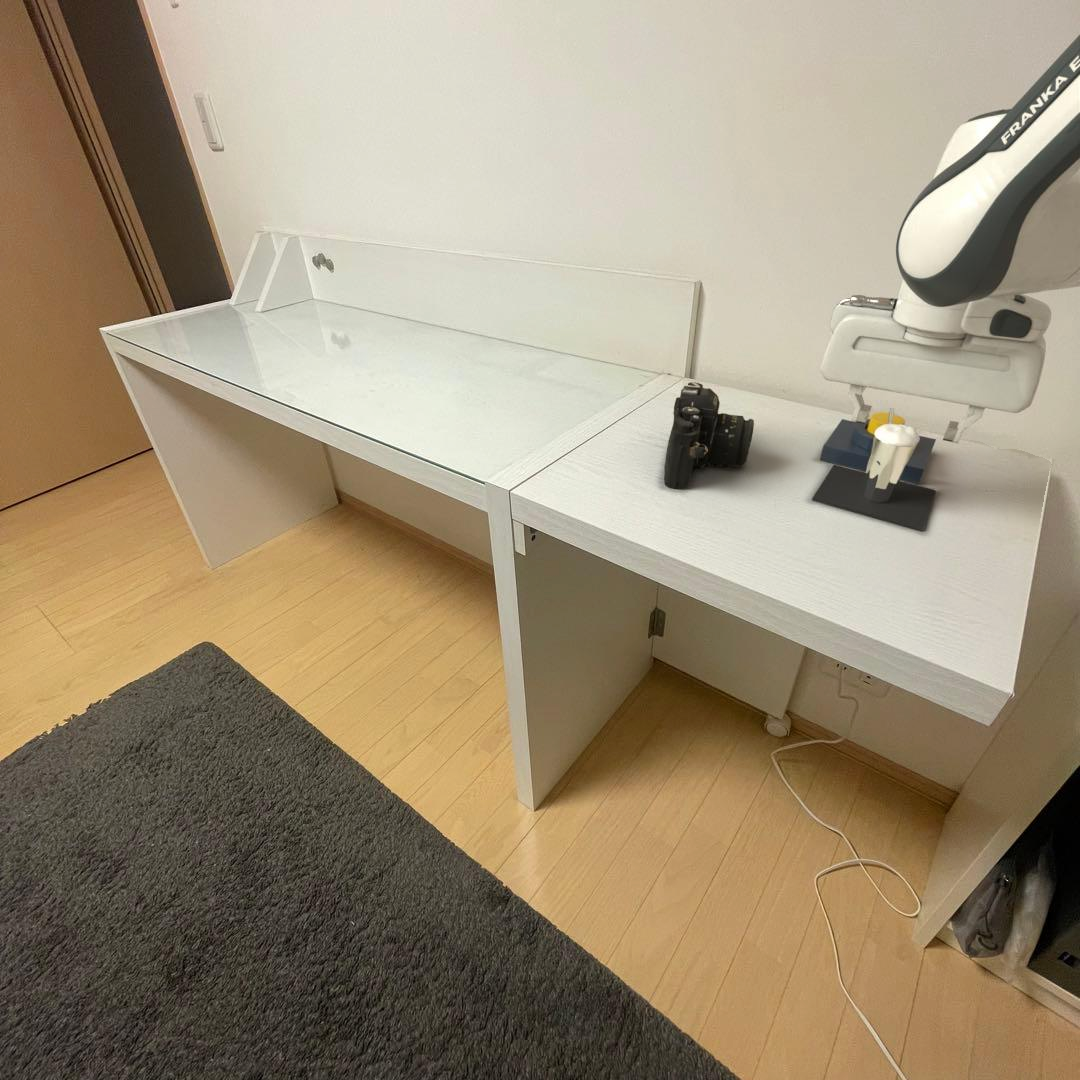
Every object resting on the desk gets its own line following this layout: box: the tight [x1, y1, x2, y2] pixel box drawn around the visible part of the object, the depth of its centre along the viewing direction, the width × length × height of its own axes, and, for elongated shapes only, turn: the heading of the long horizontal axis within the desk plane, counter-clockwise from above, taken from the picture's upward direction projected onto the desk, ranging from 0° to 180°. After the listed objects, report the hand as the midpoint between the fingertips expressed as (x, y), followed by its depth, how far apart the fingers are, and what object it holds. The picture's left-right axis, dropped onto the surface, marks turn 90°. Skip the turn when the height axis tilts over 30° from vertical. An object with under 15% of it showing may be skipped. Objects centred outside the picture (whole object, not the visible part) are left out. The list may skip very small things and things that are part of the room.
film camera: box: [663, 381, 755, 490], centre depth 80 cm, size 18×12×10 cm
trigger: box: [867, 411, 906, 434], centre depth 80 cm, size 4×4×2 cm
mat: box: [811, 464, 937, 532], centre depth 74 cm, size 12×10×1 cm
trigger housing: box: [819, 418, 937, 486], centre depth 82 cm, size 12×10×4 cm
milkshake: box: [861, 408, 920, 503], centre depth 71 cm, size 5×5×10 cm
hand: (903, 430), depth 69 cm, fingers open, 8 cm apart
